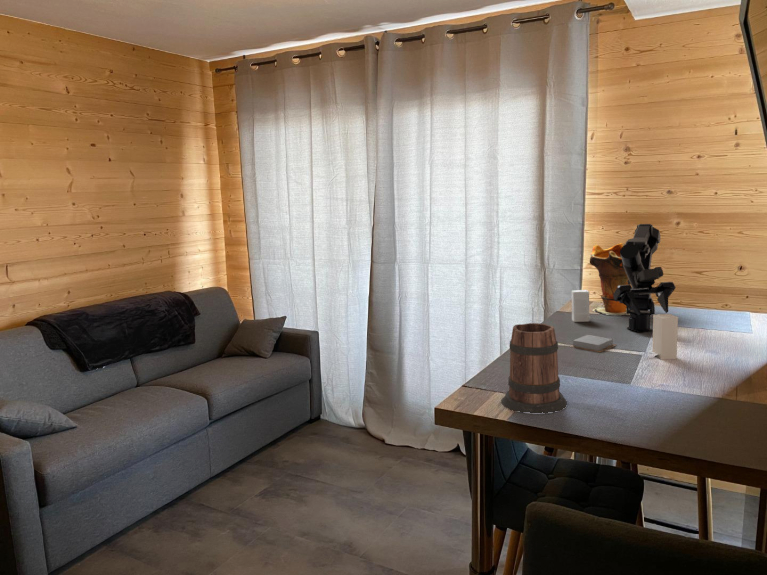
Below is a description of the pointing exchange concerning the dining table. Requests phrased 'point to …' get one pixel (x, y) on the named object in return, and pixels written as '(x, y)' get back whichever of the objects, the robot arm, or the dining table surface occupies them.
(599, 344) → the tower top
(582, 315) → the skincare box
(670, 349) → the tall block
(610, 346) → the tower base
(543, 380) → the tankard
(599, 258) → the decorative vase
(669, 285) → the robot arm
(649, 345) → the dining table surface
